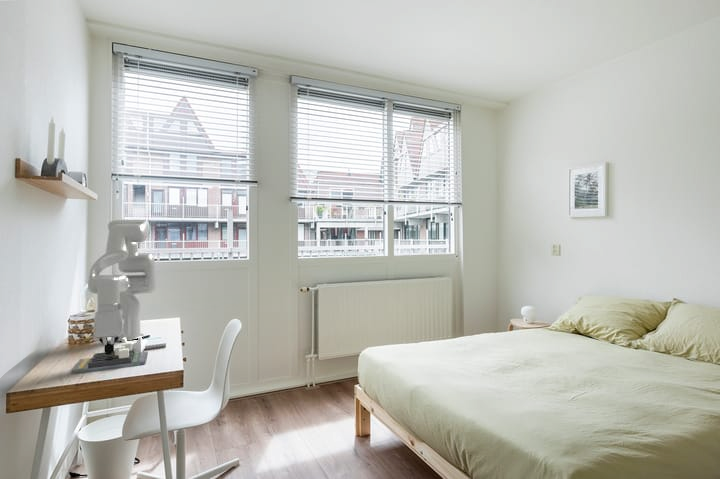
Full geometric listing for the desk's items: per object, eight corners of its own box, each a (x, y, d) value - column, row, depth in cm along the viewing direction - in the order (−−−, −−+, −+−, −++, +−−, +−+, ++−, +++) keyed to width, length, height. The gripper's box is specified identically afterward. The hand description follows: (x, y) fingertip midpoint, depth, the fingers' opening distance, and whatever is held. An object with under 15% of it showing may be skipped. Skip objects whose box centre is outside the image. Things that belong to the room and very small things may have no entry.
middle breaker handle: (115, 358, 159) (115, 346, 159) (125, 357, 160) (124, 345, 160) (114, 360, 157) (114, 348, 157) (124, 359, 158) (124, 347, 158)
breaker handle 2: (119, 361, 155) (119, 349, 155) (129, 360, 157) (128, 348, 157) (118, 363, 153) (118, 350, 153) (128, 362, 154) (128, 349, 154)
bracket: (141, 354, 169) (140, 337, 169) (122, 356, 167) (121, 338, 167) (147, 347, 182) (147, 330, 182) (129, 348, 180) (129, 332, 180)
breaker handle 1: (122, 354, 164) (122, 343, 164) (131, 353, 166) (131, 342, 166) (122, 356, 162) (121, 344, 162) (131, 355, 163) (130, 343, 163)
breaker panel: (80, 362, 159) (80, 354, 159) (147, 354, 169) (147, 347, 169) (71, 373, 146) (71, 365, 146) (145, 364, 156) (145, 356, 156)
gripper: (131, 305, 163) (131, 349, 164) (88, 308, 157) (88, 354, 157) (129, 308, 157) (129, 354, 157) (84, 311, 150) (84, 359, 150)
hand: (109, 353), depth 157 cm, fingers closed
